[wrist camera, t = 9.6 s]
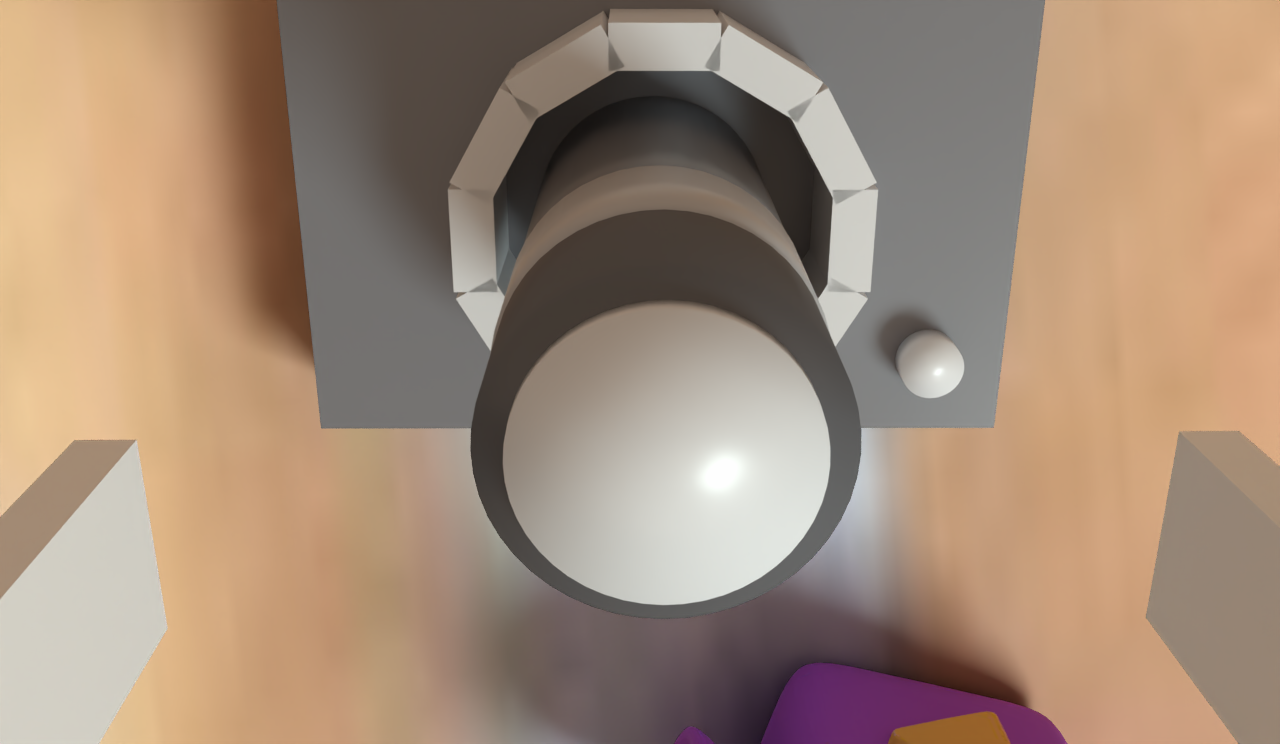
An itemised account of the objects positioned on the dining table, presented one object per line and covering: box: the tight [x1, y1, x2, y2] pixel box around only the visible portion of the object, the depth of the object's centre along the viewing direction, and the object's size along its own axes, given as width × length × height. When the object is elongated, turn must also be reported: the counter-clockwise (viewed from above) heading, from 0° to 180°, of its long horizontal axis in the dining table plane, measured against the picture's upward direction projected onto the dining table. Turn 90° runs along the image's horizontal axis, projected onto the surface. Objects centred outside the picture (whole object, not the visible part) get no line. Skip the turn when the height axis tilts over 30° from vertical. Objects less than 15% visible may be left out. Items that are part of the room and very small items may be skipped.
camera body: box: [277, 0, 1045, 428], centre depth 31 cm, size 18×12×6 cm, turn 90°
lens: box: [471, 96, 861, 619], centre depth 24 cm, size 6×6×14 cm
